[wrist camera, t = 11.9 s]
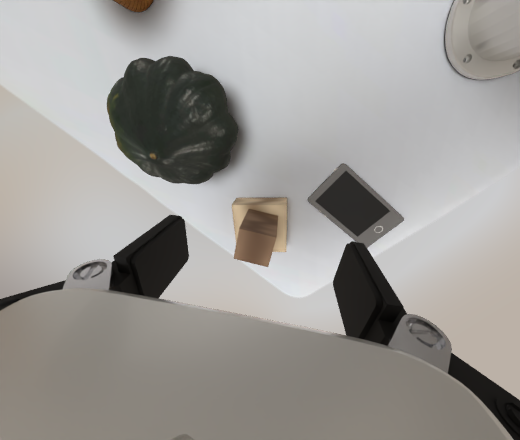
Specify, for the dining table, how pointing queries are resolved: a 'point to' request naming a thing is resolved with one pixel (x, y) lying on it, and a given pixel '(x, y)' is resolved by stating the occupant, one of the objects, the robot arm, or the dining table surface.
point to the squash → (172, 120)
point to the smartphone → (354, 206)
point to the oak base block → (268, 206)
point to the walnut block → (256, 237)
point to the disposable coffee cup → (135, 4)
